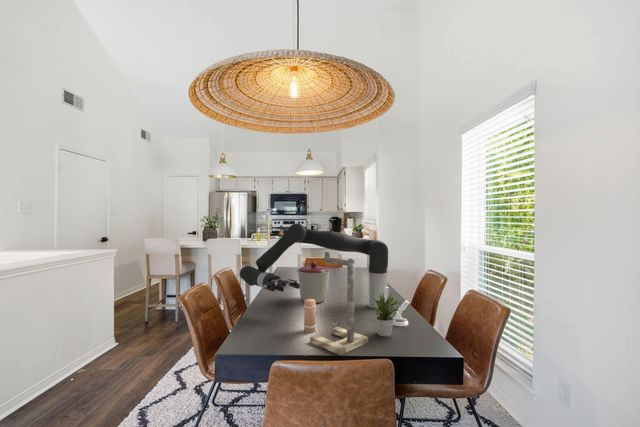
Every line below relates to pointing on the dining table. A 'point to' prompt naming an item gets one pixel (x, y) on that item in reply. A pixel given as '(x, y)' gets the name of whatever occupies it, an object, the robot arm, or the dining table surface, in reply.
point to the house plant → (384, 314)
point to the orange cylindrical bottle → (309, 315)
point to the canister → (313, 282)
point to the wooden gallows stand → (350, 337)
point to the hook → (399, 316)
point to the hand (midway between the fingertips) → (291, 287)
